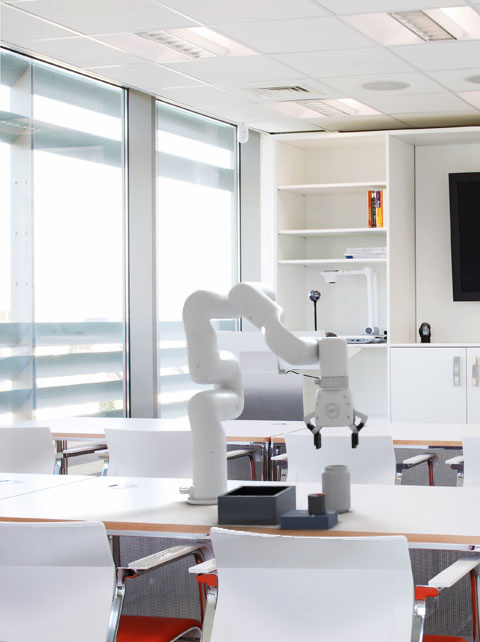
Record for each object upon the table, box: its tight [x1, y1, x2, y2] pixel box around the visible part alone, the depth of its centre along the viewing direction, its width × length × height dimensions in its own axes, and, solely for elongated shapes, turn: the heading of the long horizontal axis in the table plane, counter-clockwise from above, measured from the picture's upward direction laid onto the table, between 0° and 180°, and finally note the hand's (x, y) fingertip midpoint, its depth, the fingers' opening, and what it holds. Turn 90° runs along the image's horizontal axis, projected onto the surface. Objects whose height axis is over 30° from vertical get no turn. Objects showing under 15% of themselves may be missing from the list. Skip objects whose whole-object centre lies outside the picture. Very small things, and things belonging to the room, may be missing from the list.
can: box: [321, 464, 352, 514], centre depth 262 cm, size 8×8×12 cm
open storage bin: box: [217, 484, 297, 526], centre depth 254 cm, size 15×17×7 cm
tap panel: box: [279, 509, 339, 530], centre depth 244 cm, size 12×9×3 cm
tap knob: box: [307, 492, 326, 515], centre depth 243 cm, size 4×4×5 cm
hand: (336, 448), depth 262 cm, fingers open, 9 cm apart
